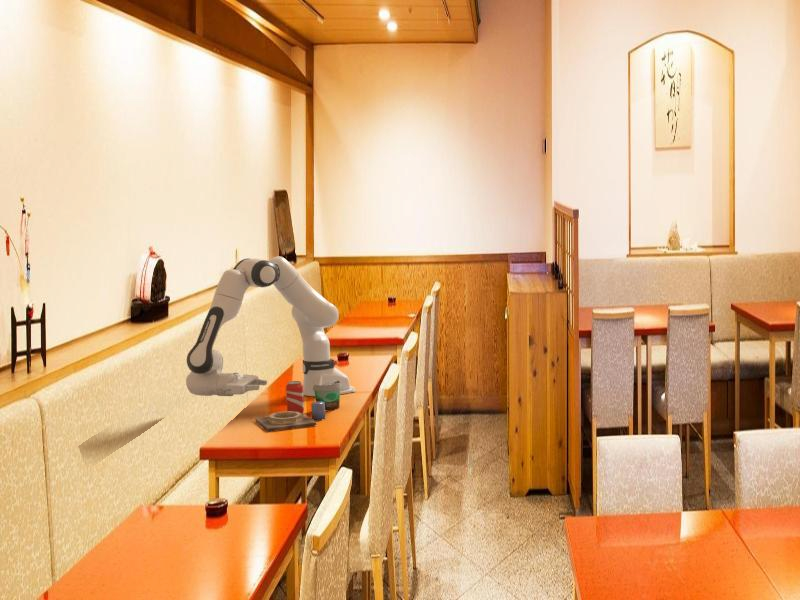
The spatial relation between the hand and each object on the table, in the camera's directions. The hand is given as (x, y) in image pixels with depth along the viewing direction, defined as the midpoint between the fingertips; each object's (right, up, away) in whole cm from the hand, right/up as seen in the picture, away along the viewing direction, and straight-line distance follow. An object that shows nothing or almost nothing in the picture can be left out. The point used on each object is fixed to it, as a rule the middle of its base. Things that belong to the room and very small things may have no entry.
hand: (262, 385), depth 382 cm
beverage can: (+13, -11, 0) cm, 17 cm away
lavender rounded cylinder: (+22, -12, -11) cm, 27 cm away
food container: (+26, -10, +5) cm, 28 cm away
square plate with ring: (+11, -13, -16) cm, 23 cm away
